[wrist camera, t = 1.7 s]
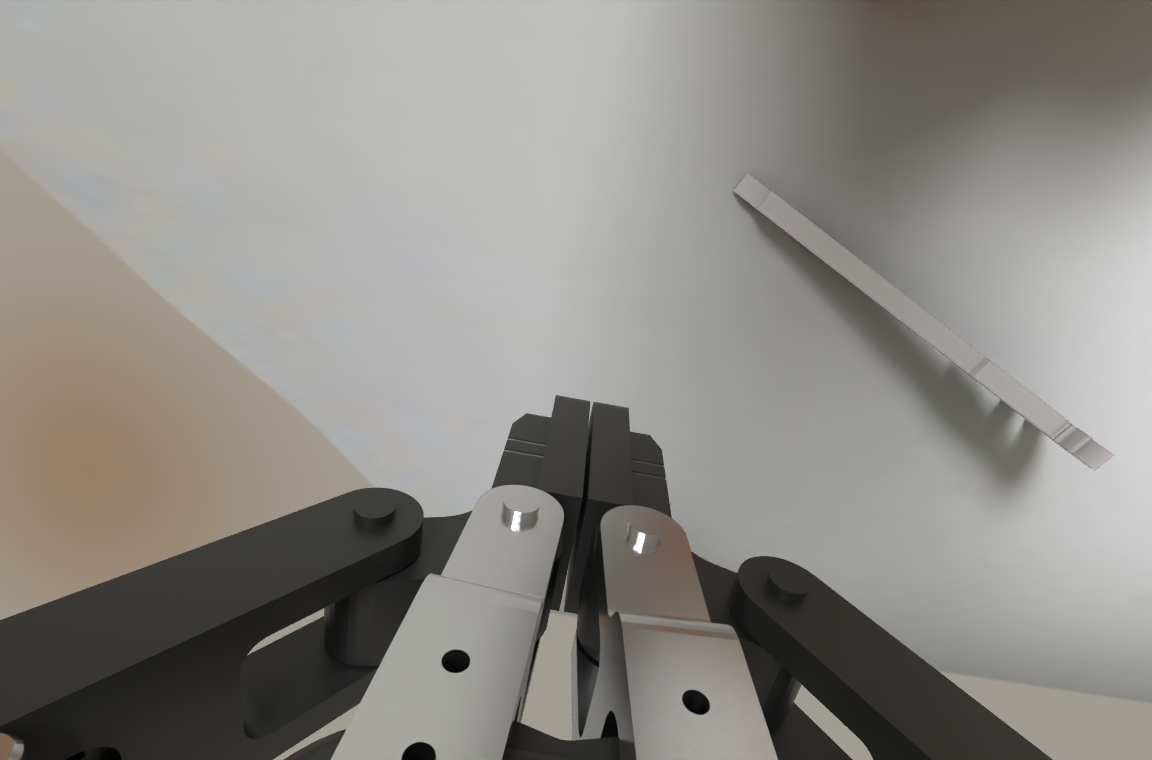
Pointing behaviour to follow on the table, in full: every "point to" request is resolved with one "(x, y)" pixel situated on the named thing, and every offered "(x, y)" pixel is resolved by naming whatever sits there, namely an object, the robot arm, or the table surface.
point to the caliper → (923, 324)
